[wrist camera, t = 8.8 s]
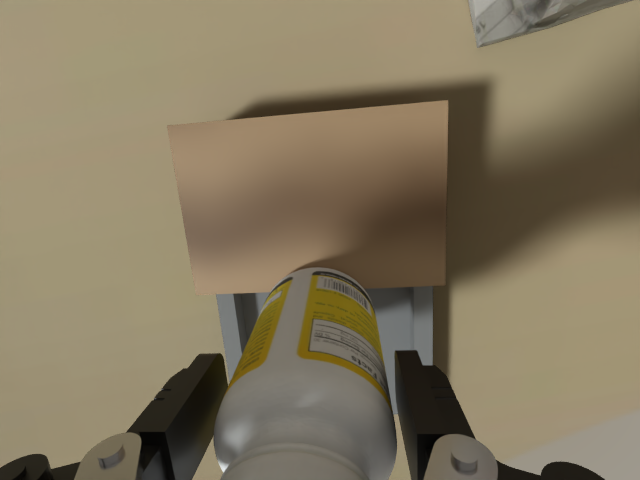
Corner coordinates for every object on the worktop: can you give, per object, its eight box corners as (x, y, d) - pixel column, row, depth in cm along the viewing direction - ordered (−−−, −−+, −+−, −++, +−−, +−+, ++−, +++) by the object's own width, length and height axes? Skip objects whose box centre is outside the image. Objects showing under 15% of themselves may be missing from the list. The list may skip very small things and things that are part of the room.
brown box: (205, 133, 18) (167, 125, 14) (425, 114, 17) (448, 100, 13) (225, 269, 20) (196, 295, 16) (425, 259, 19) (445, 285, 15)
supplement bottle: (281, 365, 17) (206, 644, 8) (253, 273, 15) (117, 490, 6) (383, 353, 16) (433, 643, 7) (365, 254, 15) (401, 469, 6)
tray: (225, 269, 20) (213, 279, 18) (425, 259, 19) (433, 270, 17) (245, 407, 22) (237, 428, 21) (425, 407, 21) (432, 429, 19)
